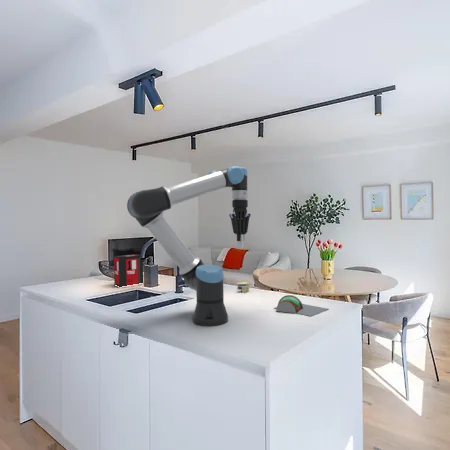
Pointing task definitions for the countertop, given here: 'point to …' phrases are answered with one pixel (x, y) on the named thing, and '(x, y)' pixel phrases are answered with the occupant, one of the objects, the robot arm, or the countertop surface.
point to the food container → (289, 304)
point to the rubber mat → (310, 310)
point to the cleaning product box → (128, 270)
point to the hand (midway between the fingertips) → (240, 247)
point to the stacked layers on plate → (243, 287)
